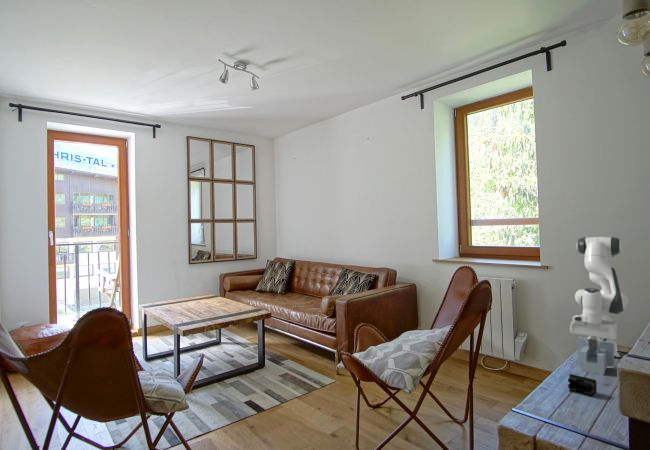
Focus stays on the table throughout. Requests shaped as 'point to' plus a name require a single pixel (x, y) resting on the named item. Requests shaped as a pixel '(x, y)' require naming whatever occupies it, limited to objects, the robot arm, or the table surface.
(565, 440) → the table surface
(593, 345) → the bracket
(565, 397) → the table surface
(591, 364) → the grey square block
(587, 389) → the end cap
